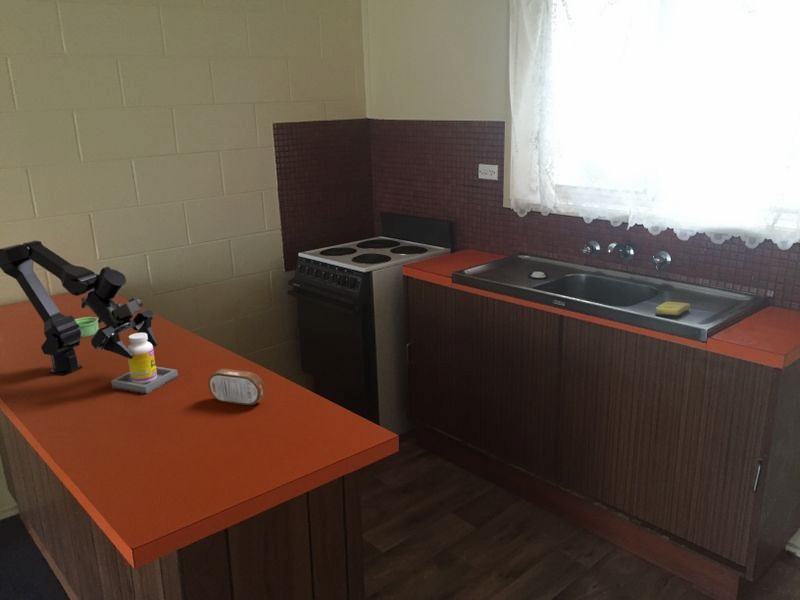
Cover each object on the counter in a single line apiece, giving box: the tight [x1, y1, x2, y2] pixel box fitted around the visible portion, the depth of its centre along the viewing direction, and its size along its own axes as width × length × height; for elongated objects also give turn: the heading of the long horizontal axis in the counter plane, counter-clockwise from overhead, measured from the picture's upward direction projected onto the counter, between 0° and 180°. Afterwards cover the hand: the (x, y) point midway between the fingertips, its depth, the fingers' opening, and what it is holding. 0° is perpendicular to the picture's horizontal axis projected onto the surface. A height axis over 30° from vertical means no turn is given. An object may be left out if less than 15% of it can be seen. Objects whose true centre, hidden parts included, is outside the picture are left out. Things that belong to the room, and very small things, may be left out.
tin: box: [207, 368, 266, 406], centre depth 169 cm, size 15×3×8 cm, turn 71°
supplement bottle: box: [126, 332, 157, 384], centre depth 183 cm, size 7×7×13 cm
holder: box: [110, 366, 179, 395], centre depth 184 cm, size 12×12×2 cm
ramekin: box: [74, 316, 99, 338], centre depth 226 cm, size 9×9×4 cm
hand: (144, 351), depth 182 cm, fingers open, 9 cm apart
